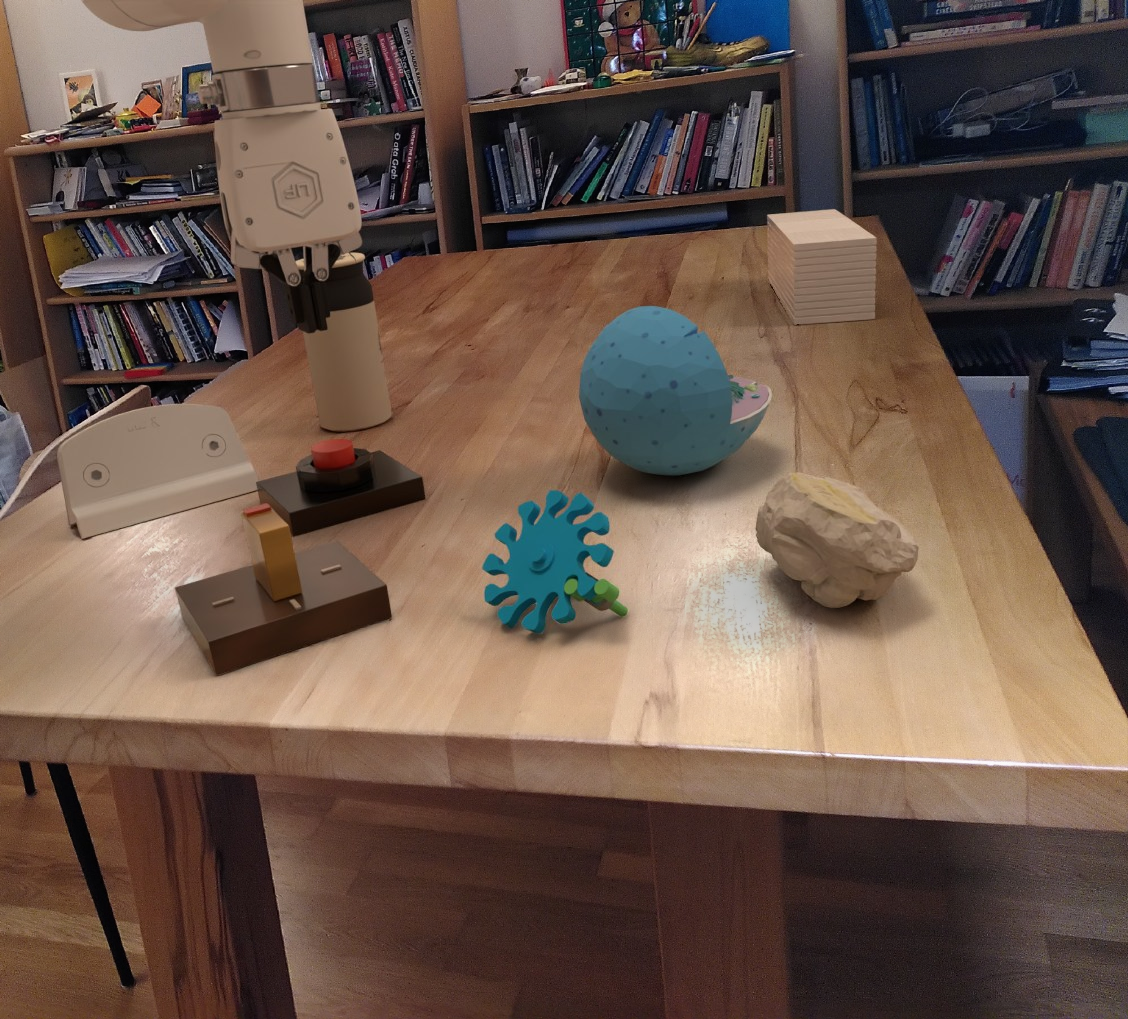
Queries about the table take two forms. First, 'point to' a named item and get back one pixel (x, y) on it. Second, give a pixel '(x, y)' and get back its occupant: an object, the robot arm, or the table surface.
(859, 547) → the beige rock
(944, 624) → the table surface
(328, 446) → the button
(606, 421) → the educational model
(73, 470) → the hinge
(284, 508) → the alarm box
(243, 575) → the plate
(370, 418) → the travel mug
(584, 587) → the gear
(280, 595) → the yellow block
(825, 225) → the grooved wooden block
